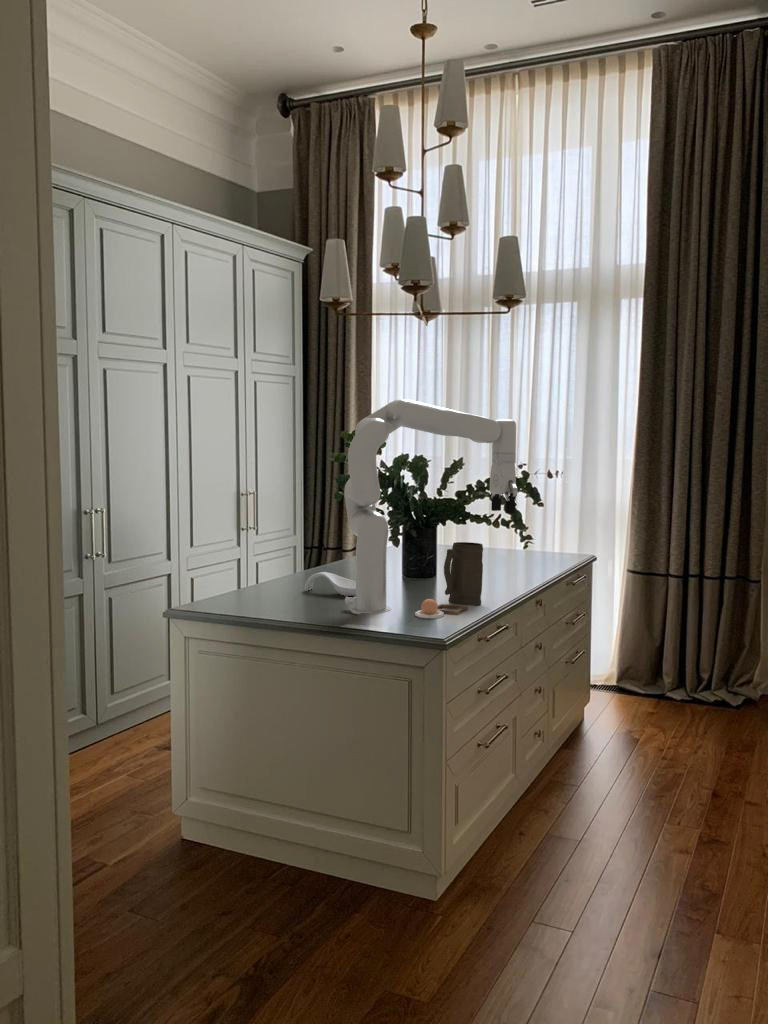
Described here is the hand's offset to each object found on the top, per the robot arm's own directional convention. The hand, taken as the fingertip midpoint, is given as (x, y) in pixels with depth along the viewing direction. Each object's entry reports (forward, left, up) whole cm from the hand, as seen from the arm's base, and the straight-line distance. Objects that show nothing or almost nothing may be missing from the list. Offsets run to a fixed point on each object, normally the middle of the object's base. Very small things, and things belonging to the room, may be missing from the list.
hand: (503, 511), depth 295 cm
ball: (-14, -29, -29) cm, 44 cm away
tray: (-11, -20, -30) cm, 38 cm away
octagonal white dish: (-14, -29, -30) cm, 44 cm away
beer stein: (-12, -5, -31) cm, 33 cm away
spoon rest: (-58, -4, -31) cm, 66 cm away
